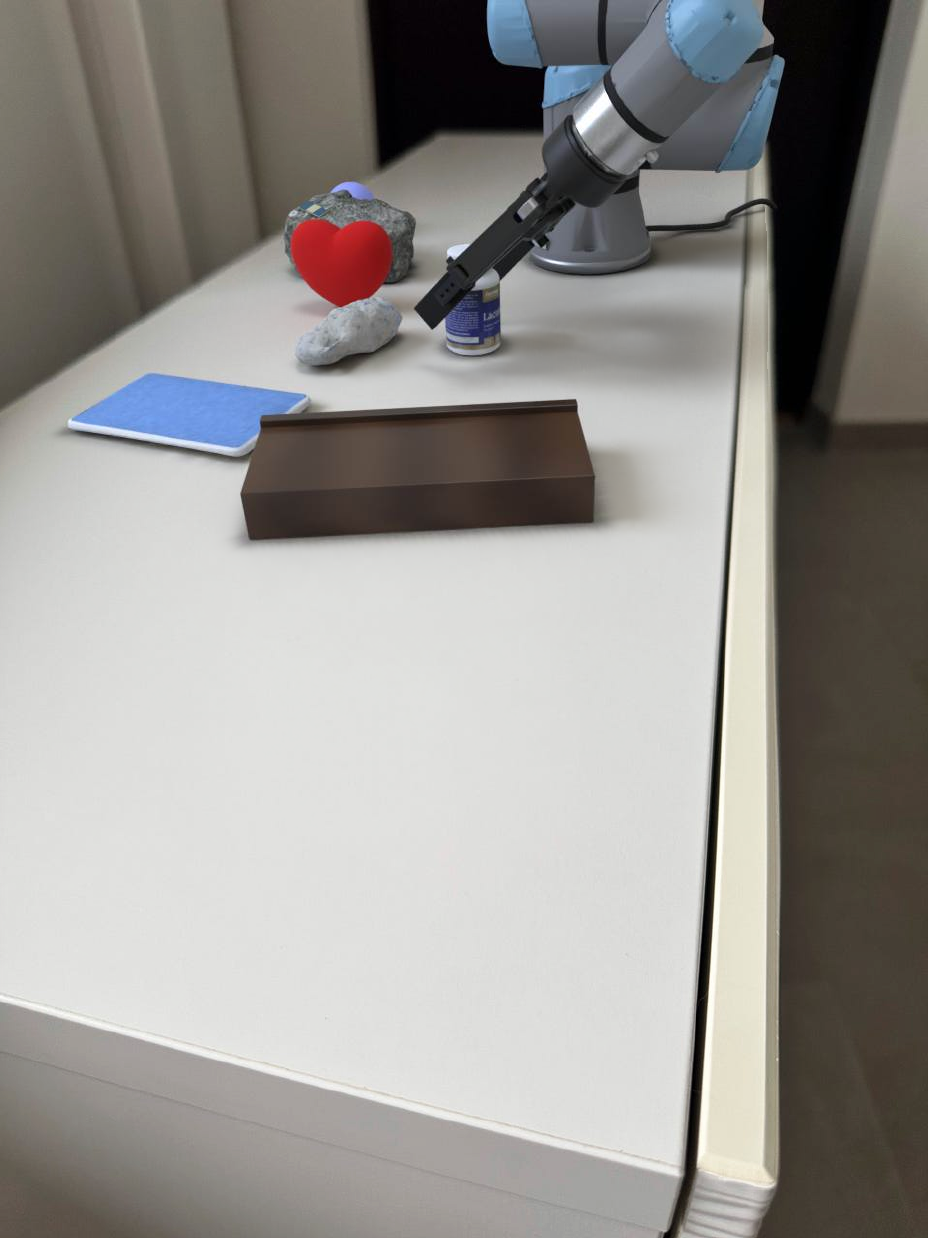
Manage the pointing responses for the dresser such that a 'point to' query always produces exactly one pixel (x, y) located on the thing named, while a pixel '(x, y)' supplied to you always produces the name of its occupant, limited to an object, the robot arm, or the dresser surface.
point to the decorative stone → (350, 331)
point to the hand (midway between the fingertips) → (456, 296)
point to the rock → (349, 209)
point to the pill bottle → (475, 315)
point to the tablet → (188, 413)
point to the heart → (342, 259)
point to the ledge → (418, 470)
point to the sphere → (355, 190)
